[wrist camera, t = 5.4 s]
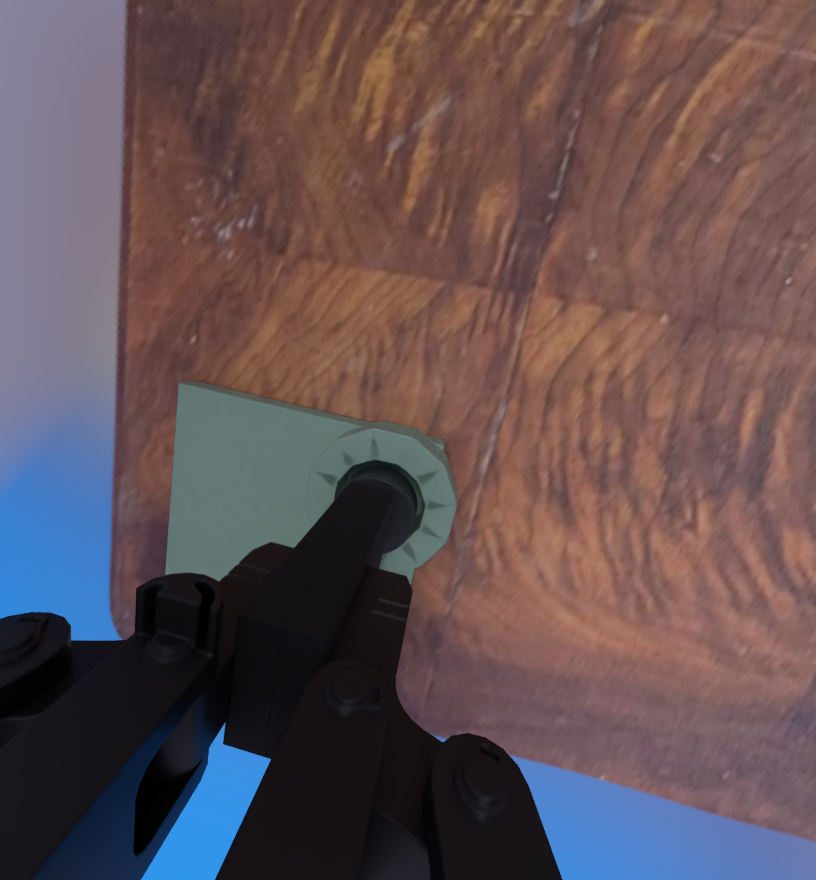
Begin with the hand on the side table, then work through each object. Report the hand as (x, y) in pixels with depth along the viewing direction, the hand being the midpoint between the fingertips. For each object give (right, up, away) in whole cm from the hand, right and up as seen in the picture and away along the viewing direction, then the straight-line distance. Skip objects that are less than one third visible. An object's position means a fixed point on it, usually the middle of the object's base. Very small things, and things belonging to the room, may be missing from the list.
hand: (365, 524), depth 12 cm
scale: (-4, -2, +6) cm, 8 cm away
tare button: (0, 0, +3) cm, 3 cm away
